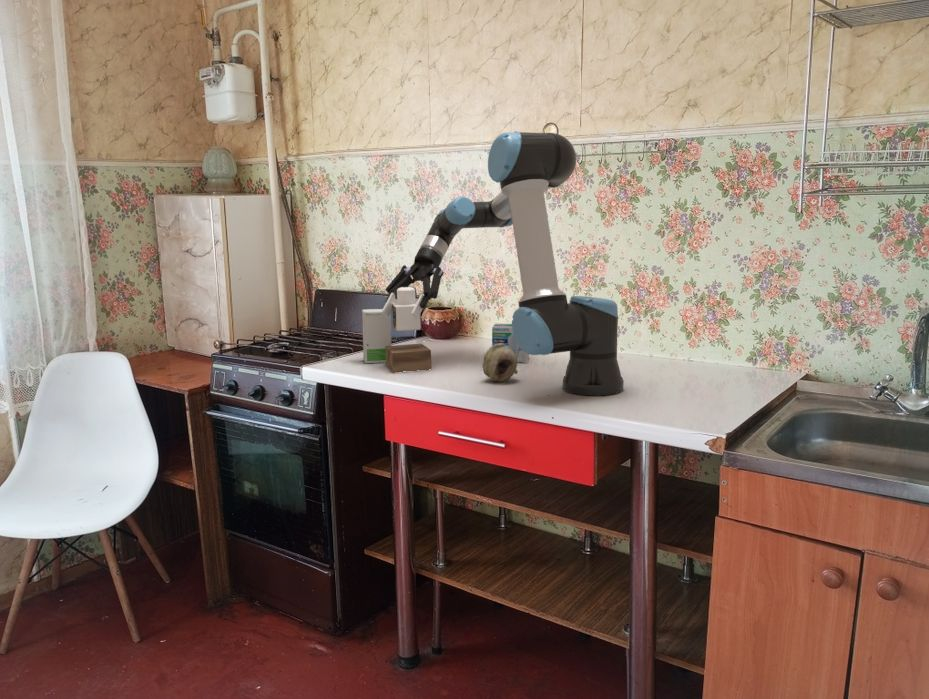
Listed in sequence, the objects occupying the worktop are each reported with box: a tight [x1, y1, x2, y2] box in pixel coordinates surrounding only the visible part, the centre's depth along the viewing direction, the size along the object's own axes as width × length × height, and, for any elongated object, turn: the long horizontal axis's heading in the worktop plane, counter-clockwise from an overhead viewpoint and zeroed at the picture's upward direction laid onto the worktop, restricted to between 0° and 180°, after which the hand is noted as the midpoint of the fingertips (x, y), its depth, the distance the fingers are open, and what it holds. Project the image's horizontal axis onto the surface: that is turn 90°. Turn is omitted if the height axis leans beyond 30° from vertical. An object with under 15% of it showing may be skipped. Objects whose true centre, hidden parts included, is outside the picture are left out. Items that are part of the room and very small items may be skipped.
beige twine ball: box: [481, 343, 519, 383], centre depth 198 cm, size 10×8×10 cm
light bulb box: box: [491, 323, 530, 363], centre depth 223 cm, size 11×7×11 cm, turn 80°
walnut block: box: [385, 343, 432, 374], centre depth 217 cm, size 11×11×6 cm
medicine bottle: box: [392, 285, 422, 332], centre depth 214 cm, size 7×7×12 cm
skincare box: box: [361, 308, 392, 364], centre depth 226 cm, size 8×7×16 cm
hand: (399, 314), depth 212 cm, fingers closed on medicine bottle, 10 cm apart
